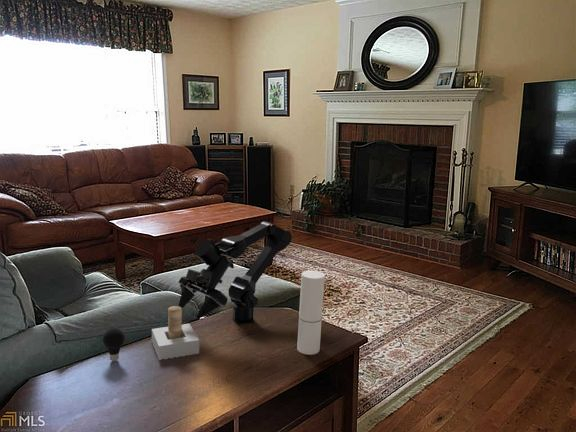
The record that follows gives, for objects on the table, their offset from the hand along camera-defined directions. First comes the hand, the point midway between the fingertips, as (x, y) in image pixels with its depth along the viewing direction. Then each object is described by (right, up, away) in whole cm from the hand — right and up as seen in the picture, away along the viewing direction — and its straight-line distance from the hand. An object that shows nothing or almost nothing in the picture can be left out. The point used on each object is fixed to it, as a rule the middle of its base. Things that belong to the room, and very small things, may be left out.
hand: (187, 313), depth 149 cm
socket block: (-4, -10, -1) cm, 11 cm away
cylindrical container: (+38, -12, +2) cm, 40 cm away
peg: (-4, -10, -1) cm, 11 cm away
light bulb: (-19, -12, -11) cm, 25 cm away
